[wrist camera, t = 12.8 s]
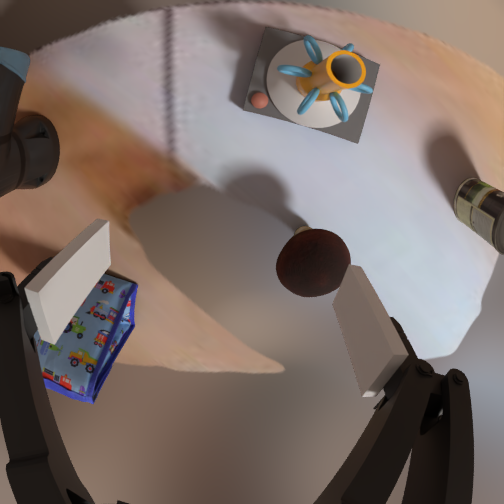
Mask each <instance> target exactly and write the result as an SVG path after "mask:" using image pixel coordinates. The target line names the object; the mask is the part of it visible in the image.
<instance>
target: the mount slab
mask: <svg viewBox="0 0 504 504" xmlns="http://www.w3.org/2000/svg"><path fill="white" fill-rule="evenodd" d="M315 41H316V42H317V44H318V46H319V48H320V50H321V52H322V56H323V60H324V59H326V58H327V57H328V56H330V55H331V54H333V53H334V52H336V51H340V50H342V49H341V48H338V47H336V46H334V45H332V44H329V43H327V42H324V41H320V40H315ZM310 45H311V44H310ZM311 48H312V50H313V52H314V49H313V47H312V46H311ZM314 54H315V52H314ZM315 56H316V55H315ZM357 56H359V55H357ZM359 57H360V58H361V60H362V61H363V63H364V65H365V68H366V76H365V79H364V81H363V82H362V83H363V84H365V85H368V86H370V87H371V88H372V89H373V90H374V86H375V82H376V78H377V74H378V70H379V66H380V64H378V63H375V62H373V61H371V60H368V59H366V58H364V57H361V56H359ZM310 61H312V60H311V58H310V57H309V55H308V53H307V51H306V48H305V46H304V36H301V35H297V34H294V33H290V32H286V31H282V30H278V29H274V28H269V27H266V28H265V31H264V35H263V38H262V42H261V45H260V49H259V52H258V56H257V59H256V63H255V66H254V70H253V74H252V78H251V81H250V85H249V89H248V93H247V96H246V100H245V104H244V108H243V110H244V111H248V112H253V113H257V114H261V115H265V116H269V117H273V118H277V119H281V120H285V121H288V122H292V123H295V124H299V125H302V126H306V127H309V128H312V129H316V130H319V131H322V132H325V133H328V134H331V135H334V136H337V137H340V138H343V139H346V140H349V141H351V142H354V143H357V144H358V142H359V139H360V136H361V132H362V129H363V126H364V122H365V119H366V115H367V112H368V108H369V105H370V101H371V97H372V94H373V92H372V93H371V94H366V93H360V92H356V91H352V90H349V89H345V90H342V91H341V93H340V96H341V97H342V99H343V100H344V102H345V105H346V107H347V110H348V116H349V117H348V120H347V121H346V122H342V121H341V120H340V119H339V118H338V117H337V115H336V114H335V112H334V110H333V107H332V105H331V102H330V100H328V101H322V102H315V101H314V103H313V104H312V105H311V106H310V108H309V109H308V110H307V111H306V112H305V113H304V114H302V115H299V114H298V113H297V109H298V107H299V105H300V104H301V102H302V101H303V100H304V98H305V97H304V96H303V95H302V94H301V93H300V92H299V90H298V88H297V86H296V76H292V75H288V74H284V73H281V72H279V71H278V70H277V67H278V66H279V65H293V66H299V67H303V66H304V65H305V64H307V63H308V62H310ZM336 102H337V100H336ZM337 105H338V107H339V109H340V106H339V104H338V102H337ZM340 111H341V109H340ZM341 113H342V112H341Z"/></svg>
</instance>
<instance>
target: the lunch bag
mask: <svg viewBox="0 0 504 504" xmlns="http://www.w3.org/2000/svg"><path fill="white" fill-rule="evenodd" d="M137 288H138V285H137V284H134V283H131V282H128V281H125V280H122V279H119V278H116V277H113V276H110V275H107V274H103V275H102V277H101V278H100V279H99V281H98V282H97V283H96V285H95V286H94V287H93V289H92V290H91V292H90V293H89V294H88V296H87V297H86V299H85V300H84V301H83V303H82V304H81V306H80V307H79V309H78V310H77V311H76V313H75V314H74V316H73V317H72V319H71V320H70V322H69V323H68V325H67V326H66V328H65V329H64V331H63V332H62V334H61V336H60V337H59V339H58V340H57V342H56V343H55V345H54V344H51V343H49V342H46V341H44V340H41V337H40V335H39V332H38V330H37V331H36V333H35V334H34V338H35V340H36V345H37V351H38V356H39V361H40V366H41V370H42V375H43V379H44V383H45V387H46V388H49V389H51V390H54V391H56V392H58V393H61V394H63V395H65V396H68V397H70V398H72V399H76V400H79V401H83V402H90V403H91V404H94V402H95V400H96V398H97V396H98V393H99V391H100V389H101V387H102V385H103V383H104V381H105V379H106V377H107V376H108V374H109V372H110V370H111V368H112V364H113V363H114V361H115V359H116V357H117V356H118V354H119V352H120V351H121V349H122V347H123V346H124V344H125V342H126V341H127V339H128V337H129V335H130V334H131V332H132V331H133V329H134V327H135V322H134V307H135V298H136V293H137Z"/></svg>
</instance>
